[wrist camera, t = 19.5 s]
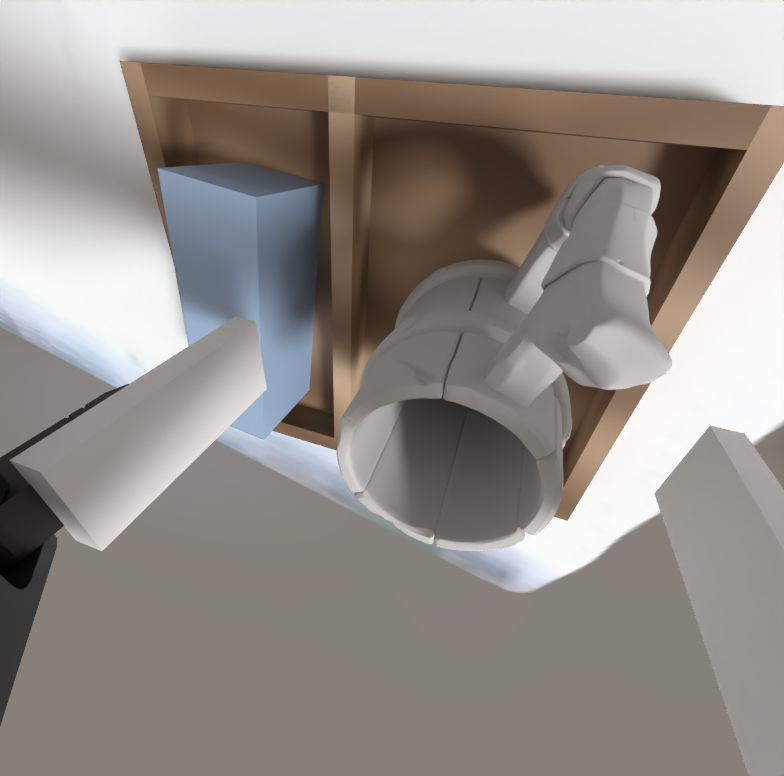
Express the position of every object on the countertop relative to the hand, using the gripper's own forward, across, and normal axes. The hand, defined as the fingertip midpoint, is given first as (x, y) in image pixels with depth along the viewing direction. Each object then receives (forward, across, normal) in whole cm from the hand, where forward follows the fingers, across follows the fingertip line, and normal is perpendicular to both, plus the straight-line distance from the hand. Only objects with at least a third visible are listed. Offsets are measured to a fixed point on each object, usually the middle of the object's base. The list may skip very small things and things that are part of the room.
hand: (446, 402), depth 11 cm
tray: (+8, -4, -1) cm, 9 cm away
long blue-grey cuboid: (+8, -11, -2) cm, 13 cm away
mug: (+8, +1, +1) cm, 8 cm away
